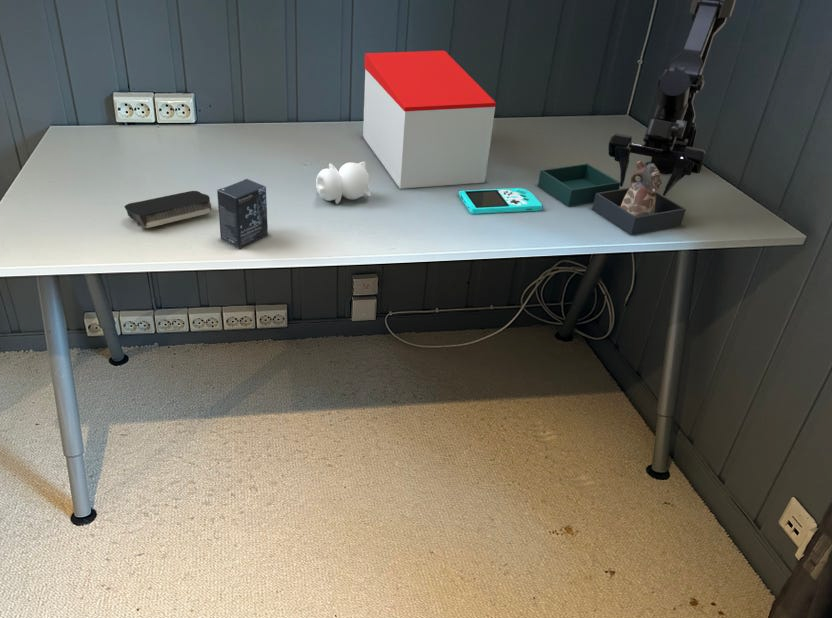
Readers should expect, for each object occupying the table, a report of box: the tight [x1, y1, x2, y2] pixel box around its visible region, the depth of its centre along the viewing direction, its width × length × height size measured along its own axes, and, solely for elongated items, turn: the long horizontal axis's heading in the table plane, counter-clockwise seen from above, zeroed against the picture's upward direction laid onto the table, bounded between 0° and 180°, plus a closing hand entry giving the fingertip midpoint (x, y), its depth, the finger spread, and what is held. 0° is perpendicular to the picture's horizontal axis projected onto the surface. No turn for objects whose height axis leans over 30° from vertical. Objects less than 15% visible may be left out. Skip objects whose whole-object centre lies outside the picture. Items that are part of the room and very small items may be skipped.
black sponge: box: [123, 190, 212, 229], centre depth 150 cm, size 16×8×4 cm, turn 123°
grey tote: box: [591, 187, 687, 236], centre depth 155 cm, size 13×13×4 cm
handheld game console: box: [458, 187, 543, 215], centre depth 160 cm, size 10×16×1 cm, turn 99°
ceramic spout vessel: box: [620, 160, 663, 217], centre depth 153 cm, size 7×7×12 cm
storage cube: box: [362, 50, 497, 190], centre depth 175 cm, size 21×35×21 cm, turn 13°
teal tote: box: [537, 163, 621, 207], centre depth 165 cm, size 13×12×4 cm
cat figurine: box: [315, 160, 372, 205], centre depth 160 cm, size 9×11×12 cm
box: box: [216, 178, 269, 249], centre depth 141 cm, size 8×6×11 cm
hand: (642, 190), depth 151 cm, fingers open, 8 cm apart
